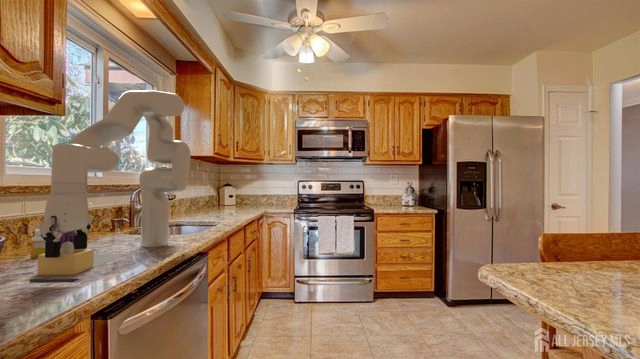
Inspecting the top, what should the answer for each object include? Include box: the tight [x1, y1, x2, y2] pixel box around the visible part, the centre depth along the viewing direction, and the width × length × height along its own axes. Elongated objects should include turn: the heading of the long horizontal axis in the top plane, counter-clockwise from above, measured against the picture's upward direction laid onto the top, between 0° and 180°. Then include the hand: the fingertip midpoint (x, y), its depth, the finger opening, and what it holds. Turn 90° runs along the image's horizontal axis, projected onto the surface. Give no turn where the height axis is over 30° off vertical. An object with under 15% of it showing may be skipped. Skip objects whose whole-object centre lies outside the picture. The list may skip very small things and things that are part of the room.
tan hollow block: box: [36, 248, 95, 275], centre depth 79 cm, size 7×9×5 cm
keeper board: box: [29, 242, 126, 284], centre depth 86 cm, size 24×10×9 cm, turn 5°
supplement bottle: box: [30, 229, 45, 259], centre depth 96 cm, size 5×5×10 cm
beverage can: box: [58, 231, 77, 249], centre depth 106 cm, size 7×7×12 cm
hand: (67, 252), depth 79 cm, fingers open, 9 cm apart
